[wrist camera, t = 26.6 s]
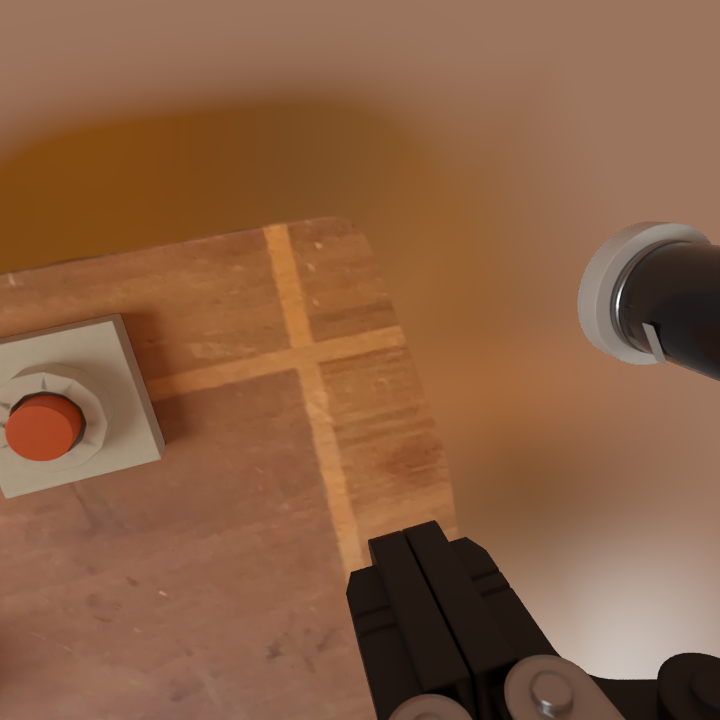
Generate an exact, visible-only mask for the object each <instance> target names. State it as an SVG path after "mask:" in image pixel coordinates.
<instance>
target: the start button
mask: <svg viewBox="0 0 720 720" xmlns="http://www.w3.org/2000/svg"><path fill="white" fill-rule="evenodd" d="M81 428H82V420H81V416H80V414H79V412H78V410H77V409H76V407H75V406H74V405H73V404H72V403H70V402H69V401H68V400H66V399H64V398H61V397H58V396H54V395H39V396H35V397H33V398H30V399H29V400H27V401H26V402H24V403H23V404H22V405H21V406H20V407H19V408H18V409H17V410H16V411H15V412H14V413H13V414H12V415H11V416H10V417H9V419H8V420H7V422H6V425H5V437H6V440H7V443H8V444H9V446H10V447H11V449H12V450H13V451H14V452H16V453H17V454H18V455H20V456H22V457H24V458H26V459H29V460H33V461H50V460H54V459H56V458H59V457H61V456H62V455H64V454H65V453H66V452H67V451H68V450H69V449H70V447H71V446H72V444H73V443H74V441H75V440H76V438H77V437H78V436H79V434H80V431H81Z"/></svg>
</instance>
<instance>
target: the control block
mask: <svg viewBox="0 0 720 720" xmlns="http://www.w3.org/2000/svg"><path fill="white" fill-rule="evenodd" d="M39 395H54V396H58V397H61V398H64V399H66V400H68V401H69V402H70V403H72V404H73V405H74V406H75V407H76V409H77V410H78V412H79V414H80V416H81V420H82V428H81V431H80V434H79V436H78V437H77V438H76V440H75V441H74V443H73V444H72V446H71V447H70V449H69V450H68V451H67V452H66V453H65V454H64V455H62V456H61V457H59V458H56V459H54V460H50V461H33V460H29V459H26V458H24V457H22V456H20V455H18V454H17V453H16V452H14V451H13V450H12V449H11V447H10V446H9V444H8V443H7V440H6V437H5V425H6V422H7V420H8V419H9V417H10V416H11V415H12V414H13V413H14V412H15V411H16V410H17V409H18V408H19V407H20V406H21V405H22V404H23V403H24V402H26V401H27V400H29V399H30V398H33V397H35V396H39ZM164 448H165V442H164V439H163V436H162V433H161V430H160V428H159V425H158V422H157V419H156V416H155V413H154V410H153V407H152V404H151V401H150V398H149V396H148V393H147V390H146V387H145V384H144V381H143V378H142V375H141V372H140V369H139V367H138V364H137V361H136V358H135V355H134V352H133V349H132V346H131V343H130V340H129V337H128V335H127V332H126V329H125V326H124V323H123V320H122V317H121V314H120V313H118V314H113V315H109V316H104V317H99V318H95V319H90V320H85V321H80V322H76V323H71V324H66V325H61V326H57V327H52V328H47V329H43V330H38V331H33V332H28V333H24V334H19V335H14V336H9V337H5V338H0V487H1V489H2V491H3V493H4V495H5V498H6V499H8V498H11V497H15V496H19V495H23V494H27V493H31V492H35V491H39V490H43V489H47V488H51V487H54V486H58V485H62V484H66V483H70V482H74V481H78V480H82V479H86V478H90V477H94V476H98V475H101V474H105V473H109V472H113V471H117V470H121V469H125V468H129V467H133V466H137V465H141V464H144V463H148V462H152V461H156V460H160V459H161V458H162V454H163V451H164Z"/></svg>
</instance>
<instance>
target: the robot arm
mask: <svg viewBox="0 0 720 720" xmlns="http://www.w3.org/2000/svg"><path fill="white" fill-rule="evenodd" d="M610 319H611V323H612V326H613V329H614V331H615V333H616V335H617V336H618V338H619V339H620V340H621V341H622V342H623V343H624V344H626V345H627V346H629V347H631V348H633V349H635V350H638V351H641V352H643V353H647V354H651V355H654V356H655V359H656V361H658V362H660V363H663V364H666V365H667V363H666V360H667V361H669V362H671V363H674V364H677V365H679V366H682V367H684V368H687V369H689V370H692V371H695V372H697V373H700V374H703V375H705V376H708V377H710V378H713V379H715V380H718V381H720V246H718V245H709V244H700V243H693V242H690V241H684V240H674V239H668V240H661V241H658V242H655V243H652V244H650V245H648V246H646V247H645V248H643V249H641V250H640V251H639V252H637V253H636V254H635V255H634V256H633V257H632V258H631V259H630V260H629V261H628V262H627V264H626V265H625V266H624V267H623V269H622V270H621V272H620V274H619V275H618V277H617V280H616V282H615V284H614V287H613V290H612V294H611V298H610ZM368 545H369V550H370V555H371V560H372V565H373V566H370V567H366V568H363V569H360V570H357V571H353V572H351V575H350V579H349V583H348V587H347V592H346V596H347V600H348V604H349V608H350V612H351V617H352V621H353V625H354V629H355V633H356V638H357V642H358V646H359V650H360V654H361V658H362V662H363V666H364V670H365V673H366V677H367V681H368V685H369V689H370V693H371V697H372V701H373V704H374V708H375V712H376V716H377V720H720V658H717V657H714V656H711V655H707V654H701V653H682V654H678V655H675V656H673V657H670V658H669V659H668V660H666V661H665V662H664V663H663V664H662V666H661V667H660V670H659V672H658V677H657V680H656V679H649V680H615V679H605V678H599V677H596V676H592V675H589V674H587V673H586V672H585V671H584V670H583V669H581V668H580V667H579V666H577V665H576V664H574V663H572V662H571V661H568V660H566V659H564V658H562V657H561V656H560V655H559V654H558V653H557V652H556V651H555V650H554V648H553V647H552V645H551V644H550V642H549V641H548V640H547V638H546V637H545V635H544V634H543V632H542V631H541V629H540V628H539V626H538V625H537V624H536V622H535V621H534V619H533V618H532V616H531V615H530V613H529V612H528V610H527V609H526V608H525V606H524V605H523V603H522V602H521V600H520V599H519V597H518V596H517V595H516V593H515V592H514V590H513V589H512V588H510V585H509V583H508V582H507V580H506V579H505V577H504V576H503V574H502V573H501V572H499V569H498V567H497V566H496V564H495V563H494V561H493V560H492V558H491V557H490V555H489V554H488V552H487V551H486V550H485V549H484V548H482V547H481V546H479V545H477V544H476V543H474V542H473V541H471V540H470V539H468V538H467V537H464V538H461V539H457V540H454V541H451V542H449V541H448V540H447V538H446V536H445V535H444V533H443V531H442V530H441V528H440V526H439V525H438V523H437V522H436V521H435V520H433V521H429V522H426V523H423V524H419V525H416V526H413V527H409V528H406V529H403V530H402V532H401V531H396V532H393V533H390V534H386V535H383V536H379V537H376V538H373V539H369V540H368Z"/></svg>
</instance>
